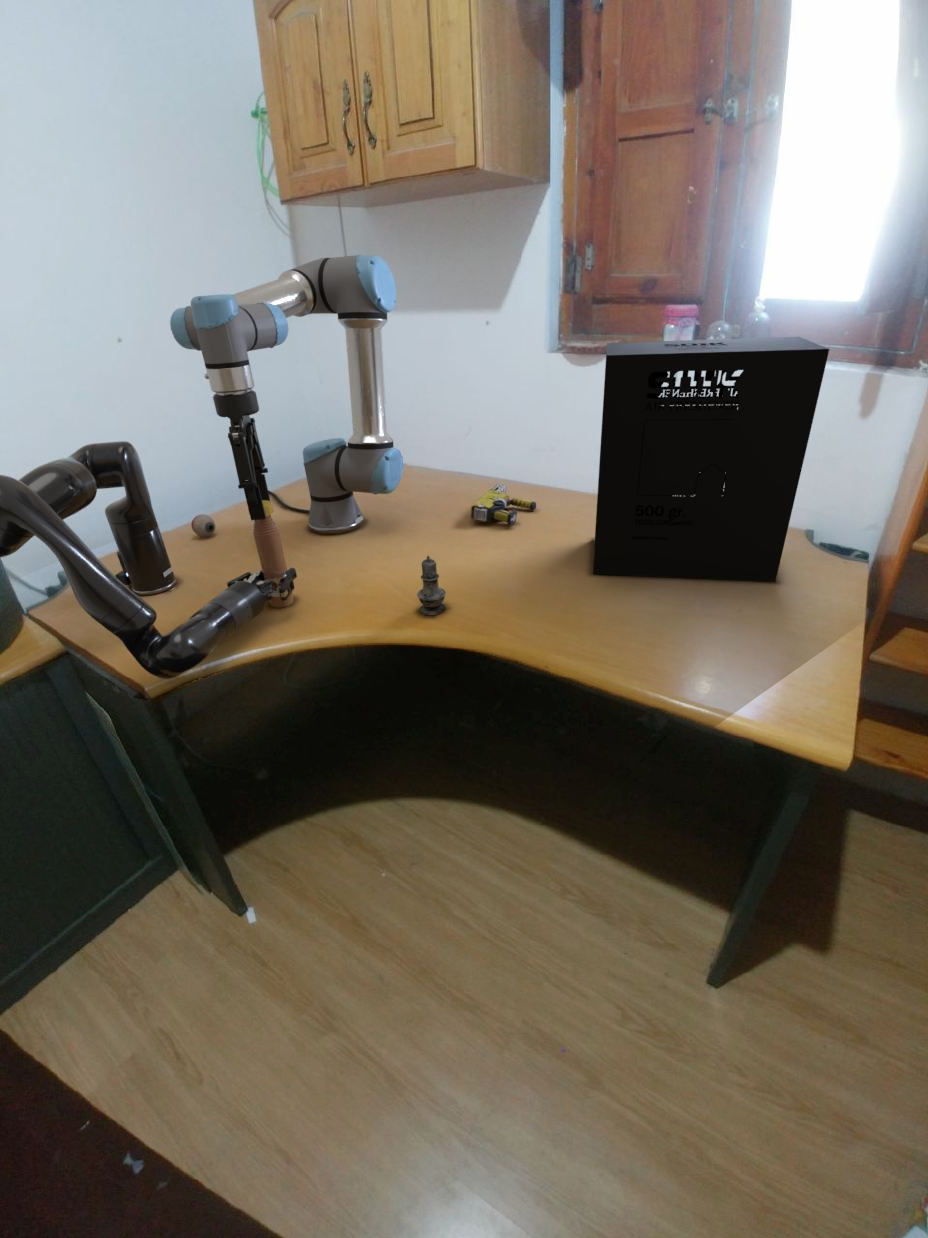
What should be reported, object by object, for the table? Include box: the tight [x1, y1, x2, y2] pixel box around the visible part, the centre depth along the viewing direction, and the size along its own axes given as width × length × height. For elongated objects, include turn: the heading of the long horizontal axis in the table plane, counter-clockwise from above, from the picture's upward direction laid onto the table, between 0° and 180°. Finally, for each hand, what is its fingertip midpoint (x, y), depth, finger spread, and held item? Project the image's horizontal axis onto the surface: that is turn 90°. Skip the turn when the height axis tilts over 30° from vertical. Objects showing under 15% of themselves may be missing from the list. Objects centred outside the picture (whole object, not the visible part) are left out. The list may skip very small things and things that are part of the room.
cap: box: [247, 500, 275, 517], centre depth 120 cm, size 5×5×2 cm
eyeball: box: [191, 514, 216, 538], centre depth 166 cm, size 6×6×6 cm
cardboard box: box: [592, 336, 830, 583], centre depth 128 cm, size 38×20×45 cm, turn 78°
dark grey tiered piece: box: [416, 555, 447, 616], centre depth 121 cm, size 6×6×12 cm
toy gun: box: [470, 483, 537, 527], centre depth 170 cm, size 5×24×15 cm
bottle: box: [252, 514, 295, 609], centre depth 125 cm, size 5×5×22 cm
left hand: (282, 570), depth 130 cm, fingers closed on bottle, 5 cm apart
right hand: (261, 512), depth 120 cm, fingers open, 7 cm apart
